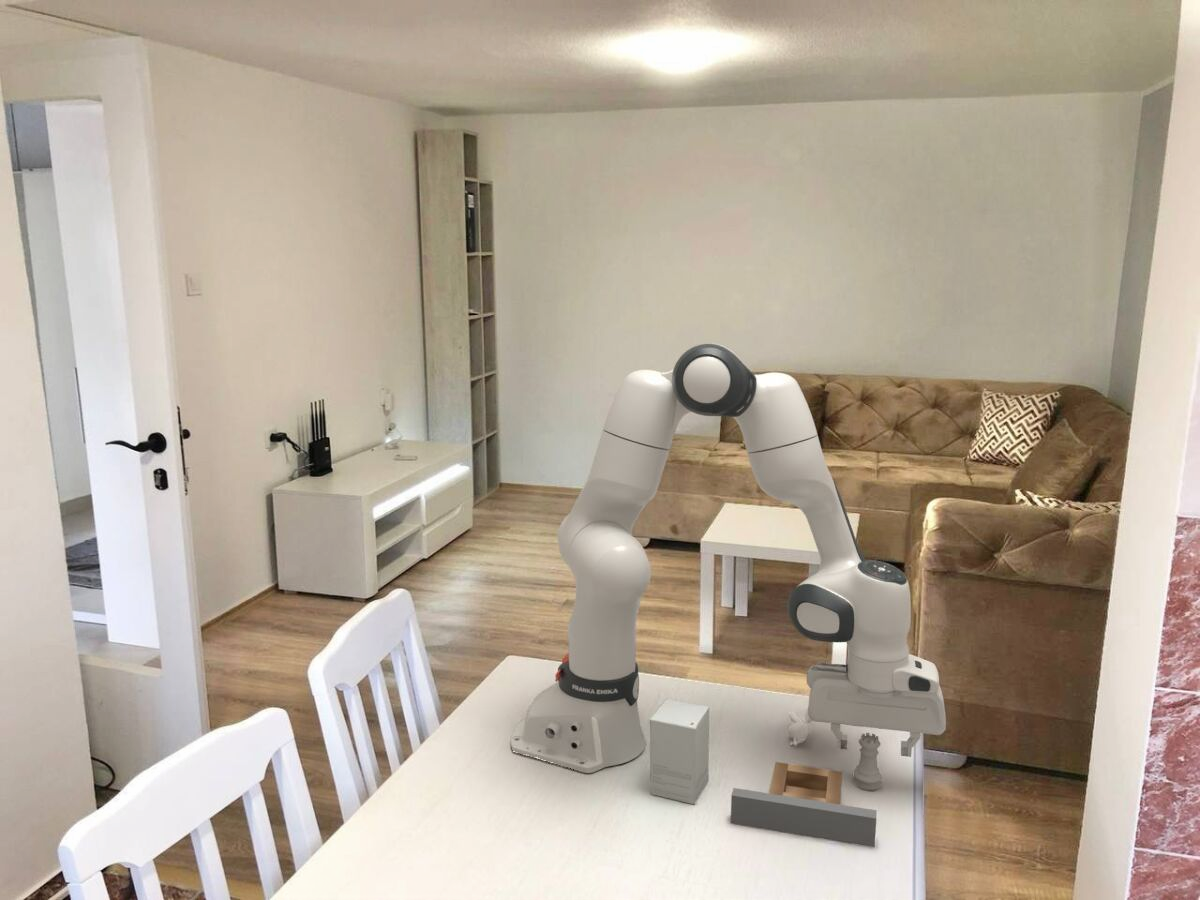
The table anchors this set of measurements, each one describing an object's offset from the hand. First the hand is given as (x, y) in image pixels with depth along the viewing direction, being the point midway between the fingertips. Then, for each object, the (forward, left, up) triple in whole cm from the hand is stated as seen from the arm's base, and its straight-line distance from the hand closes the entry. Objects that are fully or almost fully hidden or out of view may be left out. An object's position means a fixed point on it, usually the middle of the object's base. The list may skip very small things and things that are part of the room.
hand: (873, 750), depth 144 cm
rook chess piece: (-1, -1, -6) cm, 6 cm away
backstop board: (-10, -16, -5) cm, 19 cm away
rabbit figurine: (-12, +11, -6) cm, 17 cm away
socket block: (-10, -10, -5) cm, 15 cm away
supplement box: (-29, -10, -6) cm, 31 cm away
